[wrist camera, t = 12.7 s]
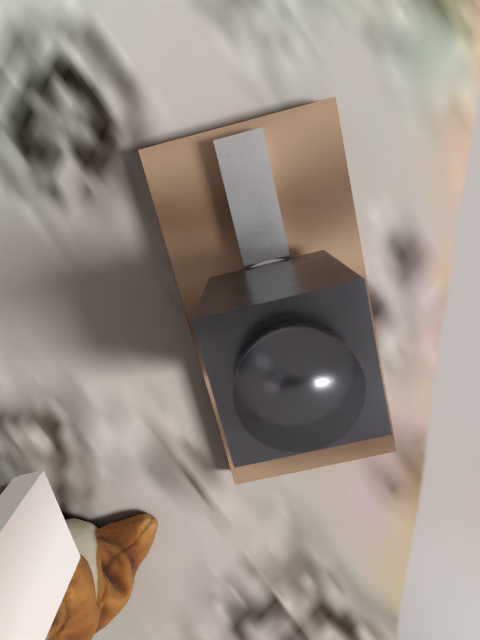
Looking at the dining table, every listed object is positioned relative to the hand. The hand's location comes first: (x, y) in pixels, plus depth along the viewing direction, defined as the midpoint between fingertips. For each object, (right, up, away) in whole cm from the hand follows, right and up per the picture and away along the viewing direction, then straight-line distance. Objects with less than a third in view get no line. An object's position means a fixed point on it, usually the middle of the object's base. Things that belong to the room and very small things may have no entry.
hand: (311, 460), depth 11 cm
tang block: (0, +4, +15) cm, 16 cm away
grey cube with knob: (0, +3, +13) cm, 13 cm away
